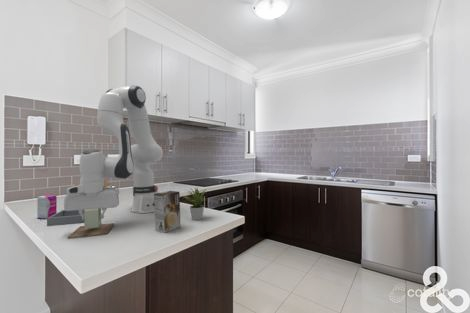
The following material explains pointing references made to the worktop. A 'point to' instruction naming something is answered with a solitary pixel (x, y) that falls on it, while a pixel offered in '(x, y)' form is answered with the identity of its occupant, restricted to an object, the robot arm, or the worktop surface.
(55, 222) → the frame
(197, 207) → the house plant
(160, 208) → the coffee box
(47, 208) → the supplement box
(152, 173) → the robot arm
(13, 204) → the worktop surface
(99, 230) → the walnut pad
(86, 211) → the sage block
